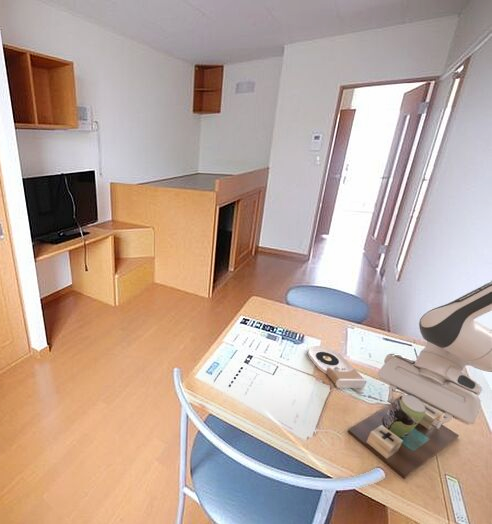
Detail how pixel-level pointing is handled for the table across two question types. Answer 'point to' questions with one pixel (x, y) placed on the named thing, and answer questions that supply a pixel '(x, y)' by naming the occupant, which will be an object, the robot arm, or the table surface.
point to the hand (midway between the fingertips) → (411, 414)
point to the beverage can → (404, 415)
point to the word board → (404, 441)
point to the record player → (336, 367)
